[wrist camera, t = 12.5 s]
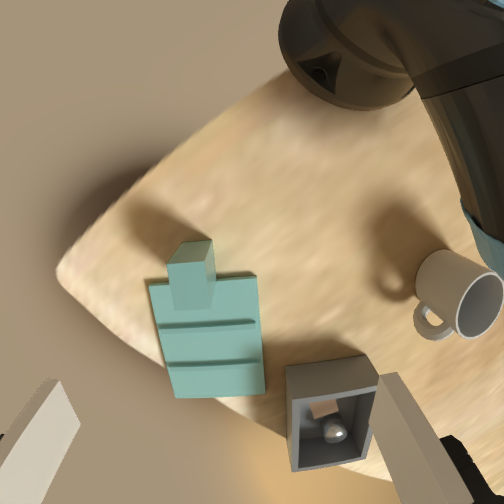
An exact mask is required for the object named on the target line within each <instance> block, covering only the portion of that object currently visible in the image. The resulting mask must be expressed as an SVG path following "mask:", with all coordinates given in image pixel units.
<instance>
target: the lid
mask: <svg viewBox="0 0 504 504" xmlns="http://www.w3.org/2000/svg"><path fill="white" fill-rule="evenodd" d="M166 265H167V271H168V277H169V282H163V283H150V285H149V291H150V296H151V301H152V306H153V311H154V315H155V320H156V324H157V329H158V333H159V337H160V342H161V346H162V350H163V354H164V358H165V362H166V365H167V369H168V373H169V376H170V380H171V384H172V387H173V391H174V394H175V398H212V397H233V396H248V395H261V394H265V380H264V367H263V353H262V340H261V326H260V313H259V300H258V287H257V276H256V275H255V276H243V277H231V278H218V279H217V277H216V269H215V260H214V251H213V242H212V240H205V241H194V242H183V243H181V245H180V246H179V248H178V249H177V250H176V252H175V253H174V254H173V256H172V257H171V259H170V260H169V261H168V263H167V264H166Z"/></svg>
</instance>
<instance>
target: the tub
mask: <svg viewBox="0 0 504 504" xmlns="http://www.w3.org/2000/svg"><path fill="white" fill-rule="evenodd" d="M378 380H379V374H378V373H377V371H376V370H375V368H374V366H373V365H372V363H371V362H370V360H369V358H368V357H367V355H361V356H355V357H349V358H343V359H337V360H330V361H323V362H316V363H308V364H300V365H292V366H285V386H286V439H287V446H288V453H289V459H290V464H291V471H292V472H299V471H305V470H312V469H319V468H324V467H330V466H335V465H340V464H345V463H350V462H354V461H359V460H363V459H366V456H367V452H368V449H369V445H370V442H371V438H372V434H373V432H372V430H371V427H370V425H369V423H368V422H369V418H370V414H371V410H372V406H373V402H374V398H375V394H376V390H377V385H378ZM332 399H336V403H337V406H338V410H339V411H337V412H334V413H337V414H340V415H341V416H342V419H343V422H344V425H345V428H346V431H347V436H346V438H345V439H343V440H342V441H340V442H338V443H327V442H326V441H325V439H324V435H323V432H322V428H321V424H320V422H321V420H322V418H323V417H325V416H326V415H325V416H322V417H319V418H316V419H314V416H313V414H312V411H311V408H310V405H309V403H312V402H319V401H325V400H332ZM331 414H332V413H331Z"/></svg>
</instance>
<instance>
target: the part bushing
mask: <svg viewBox="0 0 504 504" xmlns="http://www.w3.org/2000/svg"><path fill="white" fill-rule="evenodd" d="M320 424H321V428H322V432H323V435H324V439H325V441H326V442H327V443H338V442H340V441H342V440H343V439H345V438H346V436H347V431H346V428H345V425H344V422H343V419H342V416H341V415H340V414H337V413H332V414H328V415H326V416H325V417H323V418H322V420H321V422H320Z"/></svg>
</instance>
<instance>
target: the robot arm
mask: <svg viewBox="0 0 504 504" xmlns="http://www.w3.org/2000/svg"><path fill="white" fill-rule="evenodd" d="M278 39H279V45H280V49H281V53H282V55H283V58H284V60H285V62H286V64H287V66H288V67H289V69H290V70H291V72H292V73H293V74H294V76H295V77H296V78H297V79H298V80H299V81H300V82H301V83H302V84H303V85H304V86H305V87H306V88H307V89H308V90H309V91H311V92H312V93H313V94H315V95H316V96H318V97H320V98H321V99H323V100H325V101H327V102H329V103H331V104H333V105H336V106H339V107H342V108H346V109H351V110H358V111H370V110H377V109H381V108H384V107H387V106H389V105H392V104H395V103H397V102H399V101H401V100H402V99H404V98H405V97H406V96H408V95H409V94H410V93H411V92H412V91H413V90H414V88H416V89H417V91H418V93H419V95H420V98H421V100H422V102H423V104H424V106H425V108H426V110H427V112H428V114H429V116H430V119H431V121H432V123H433V125H434V127H435V130H436V132H437V134H438V136H439V139H440V141H441V144H442V146H443V148H444V151H445V153H446V156H447V158H448V161H449V164H450V166H451V169H452V172H453V175H454V177H455V180H456V183H457V186H458V189H459V192H460V195H461V198H460V203H461V207H462V210H463V213H464V215H465V217H466V219H467V220H468V222H469V224H470V227H471V230H472V233H473V236H474V239H475V242H476V246H477V249H478V251H479V253H480V255H481V257H482V259H483V261H484V262H485V263H486V265H487V266H488V267H489V268H490V269H491V270H492V271H494V272H496V273H497V274H498V275H499V277H500V278H501V279H502V280H503V281H504V0H289V1H288V2H287V4H286V6H285V8H284V11H283V13H282V17H281V20H280V24H279V30H278ZM368 423H369V425H370V427H371V430H372V432H373V434H374V437H375V439H376V441H377V444H378V446H379V449H380V451H381V453H382V456H383V458H384V461H385V463H386V466H387V468H388V471H389V473H390V475H391V478H392V480H393V483H394V485H395V488H396V490H397V493H398V496H399V498H400V501H401V503H402V504H504V496H501V495H495V494H494V493H493V492H492V491H491V489H490V488H489V486H488V484H487V483H486V481H485V479H484V478H483V476H482V474H481V473H480V471H479V469H478V468H477V466H476V465H475V463H473V460H472V458H471V457H470V455H468V452H467V450H466V449H465V447H464V446H463V444H462V442H460V441H459V440H458V439H456V438H455V437H453V436H452V435H449V436H446V437H443V438H440V439H439V438H438V437H437V435H436V433H435V432H434V430H433V428H432V427H431V425H430V423H429V422H428V420H427V419H426V417H425V415H424V414H423V412H422V411H421V409H420V407H419V406H418V404H417V403H416V401H415V399H414V398H413V396H412V395H411V393H410V392H409V390H408V388H407V387H406V385H405V384H404V382H403V381H402V379H401V378H400V376H399V375H398V373H397V372H394V373H389V374H384V375H380V376H379V380H378V385H377V390H376V394H375V398H374V402H373V406H372V410H371V414H370V418H369V422H368ZM80 425H81V424H80V422H79V420H78V418H77V416H76V414H75V412H74V410H73V408H72V406H71V404H70V402H69V400H68V398H67V395H66V393H65V391H64V389H63V387H62V384H61V382H60V380H55V379H49V378H47V379H46V380H45V381H44V382H43V384H42V385H41V386H40V387H39V389H38V390H37V391H36V393H35V394H34V395H33V397H32V398H31V399H30V401H29V402H28V403H27V404H26V406H25V407H24V409H23V410H22V411H21V413H20V414H19V415H18V417H17V418H16V420H15V421H14V422H13V424H12V425H11V426H10V428H9V429H8V431H7V432H6V433H5V434H1V435H0V504H41V503H42V501H43V499H44V497H45V494H46V492H47V490H48V488H49V486H50V484H51V482H52V480H53V478H54V476H55V474H56V472H57V470H58V468H59V465H60V464H61V461H62V460H63V457H64V456H65V454H66V452H67V450H68V448H69V446H70V444H71V442H72V440H73V438H74V436H75V434H76V432H77V431H78V429H79V427H80Z"/></svg>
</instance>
